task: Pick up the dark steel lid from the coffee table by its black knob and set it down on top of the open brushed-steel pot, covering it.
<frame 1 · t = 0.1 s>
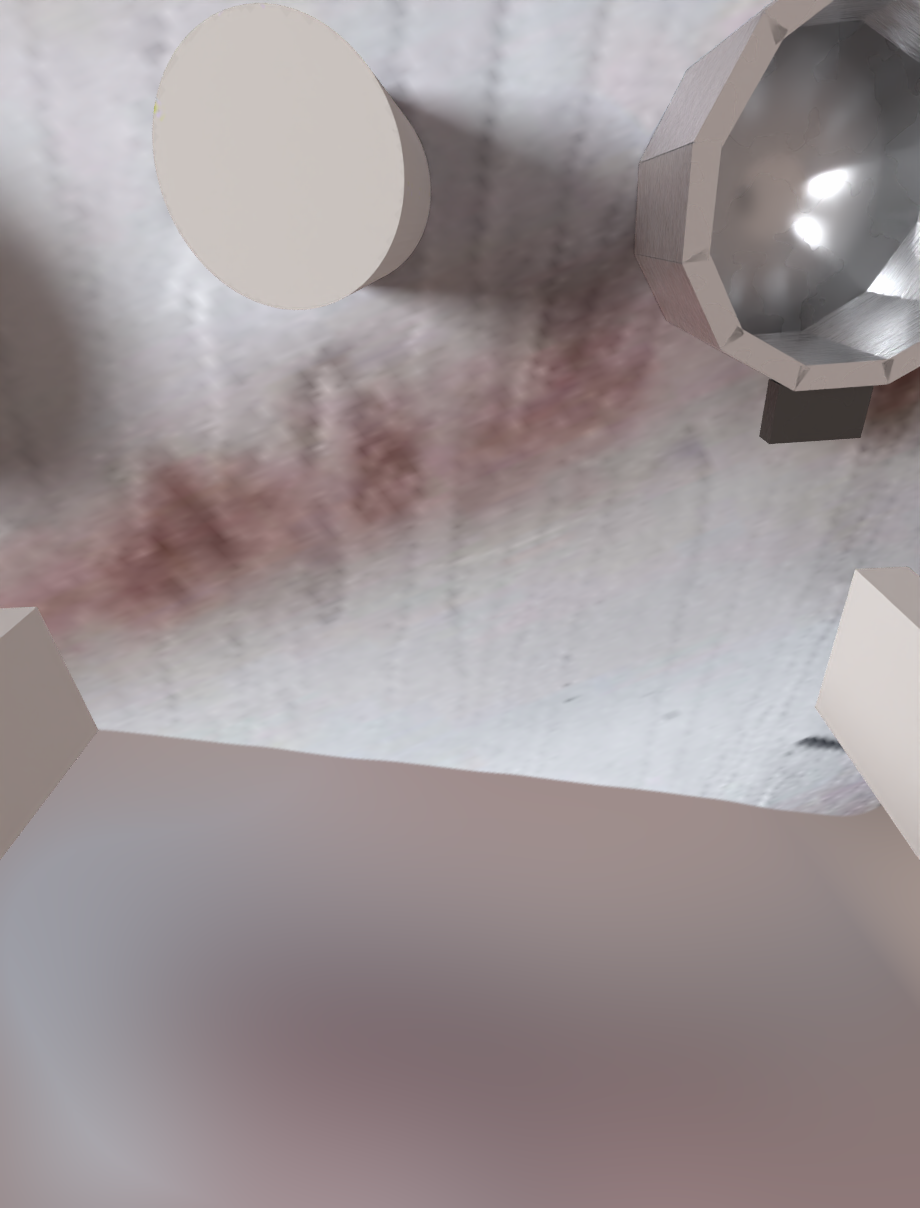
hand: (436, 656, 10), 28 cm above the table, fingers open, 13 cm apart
beige cylinder: (348, 189, 31), on the table
pot: (783, 195, 30), on the table
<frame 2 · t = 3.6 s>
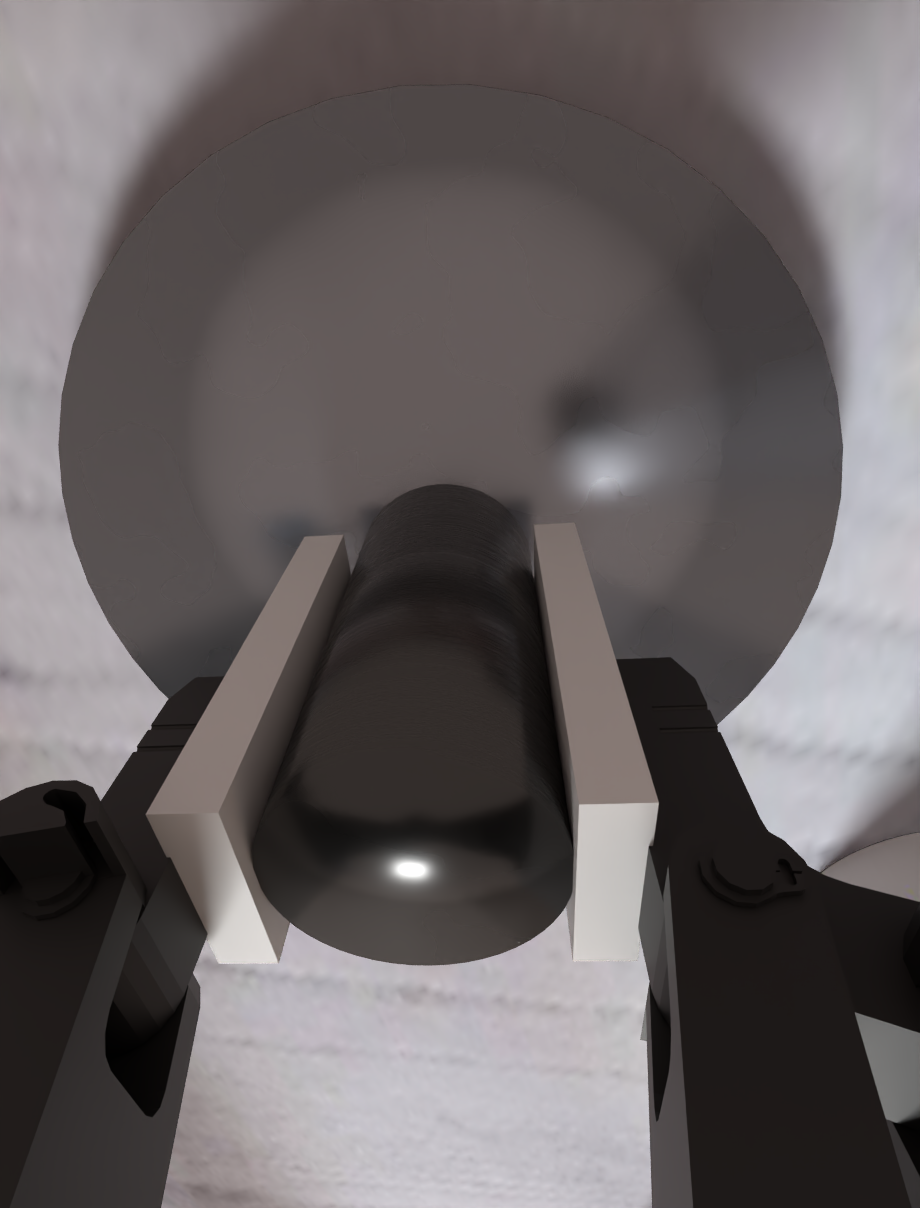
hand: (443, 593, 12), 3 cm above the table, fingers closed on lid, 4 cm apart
beige cylinder: (909, 902, 22), on the table
lid: (449, 534, 15), on the table, touching gripper
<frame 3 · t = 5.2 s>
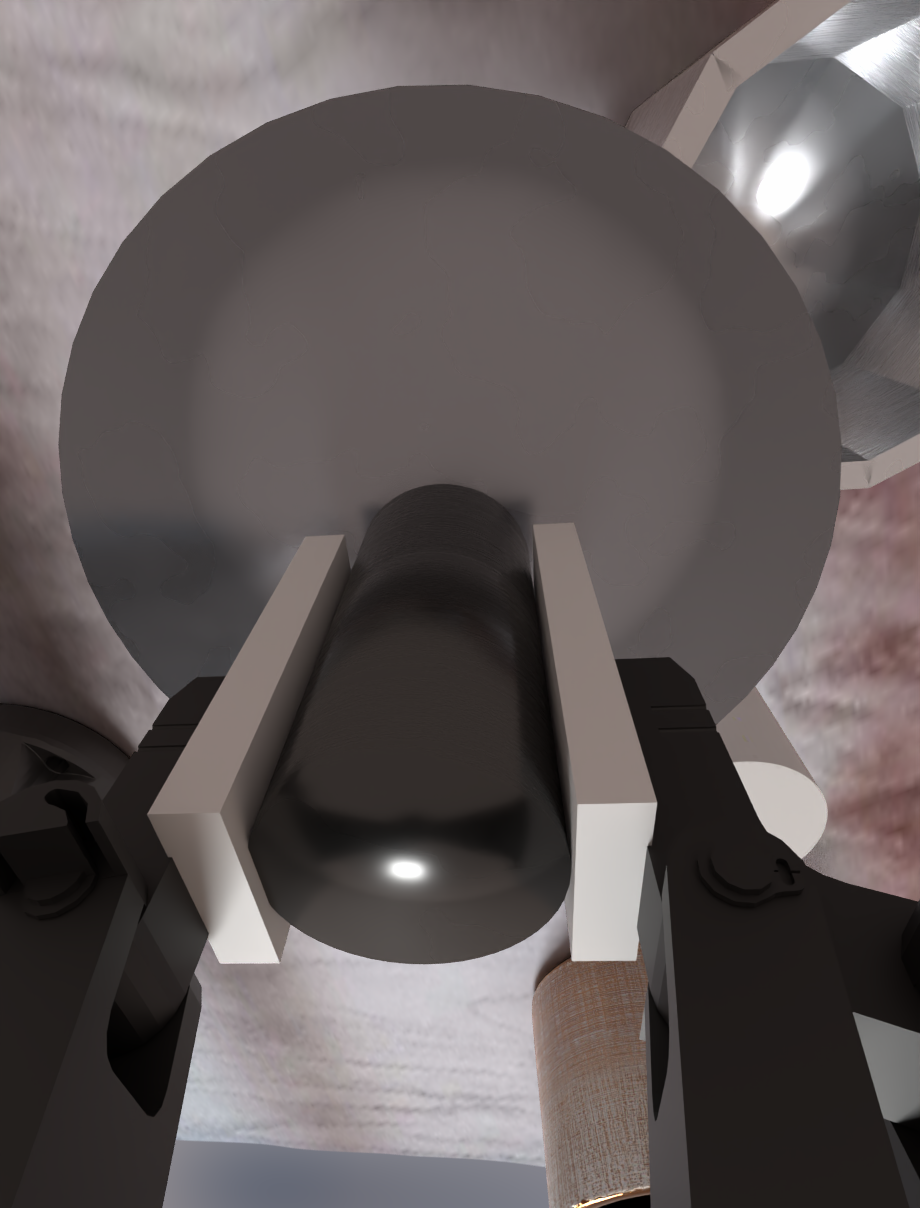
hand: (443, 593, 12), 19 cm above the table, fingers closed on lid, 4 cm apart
planter: (630, 988, 55), on the table
beige cylinder: (654, 661, 37), on the table
lid: (448, 534, 15), point 17 cm above the table, touching gripper
pot: (748, 254, 26), on the table
when the fingers open (14 cm above the table, at t = 6.8 s): lid drops 2 cm, resting on pot.
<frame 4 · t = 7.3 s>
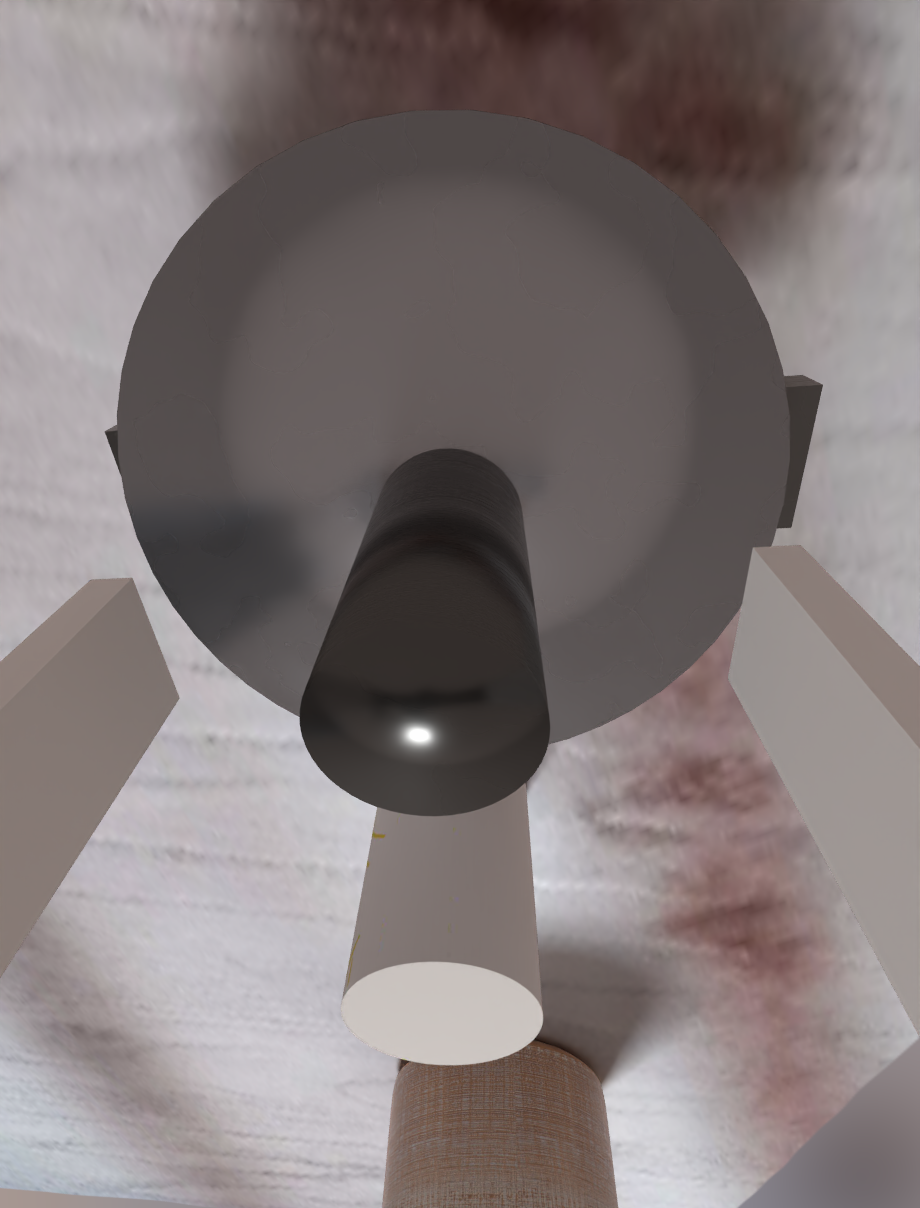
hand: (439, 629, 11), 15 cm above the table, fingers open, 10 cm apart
planter: (497, 1075, 54), on the table
beige cylinder: (454, 785, 36), on the table
lid: (452, 497, 17), point 9 cm above the table, touching pot
pot: (463, 410, 24), on the table
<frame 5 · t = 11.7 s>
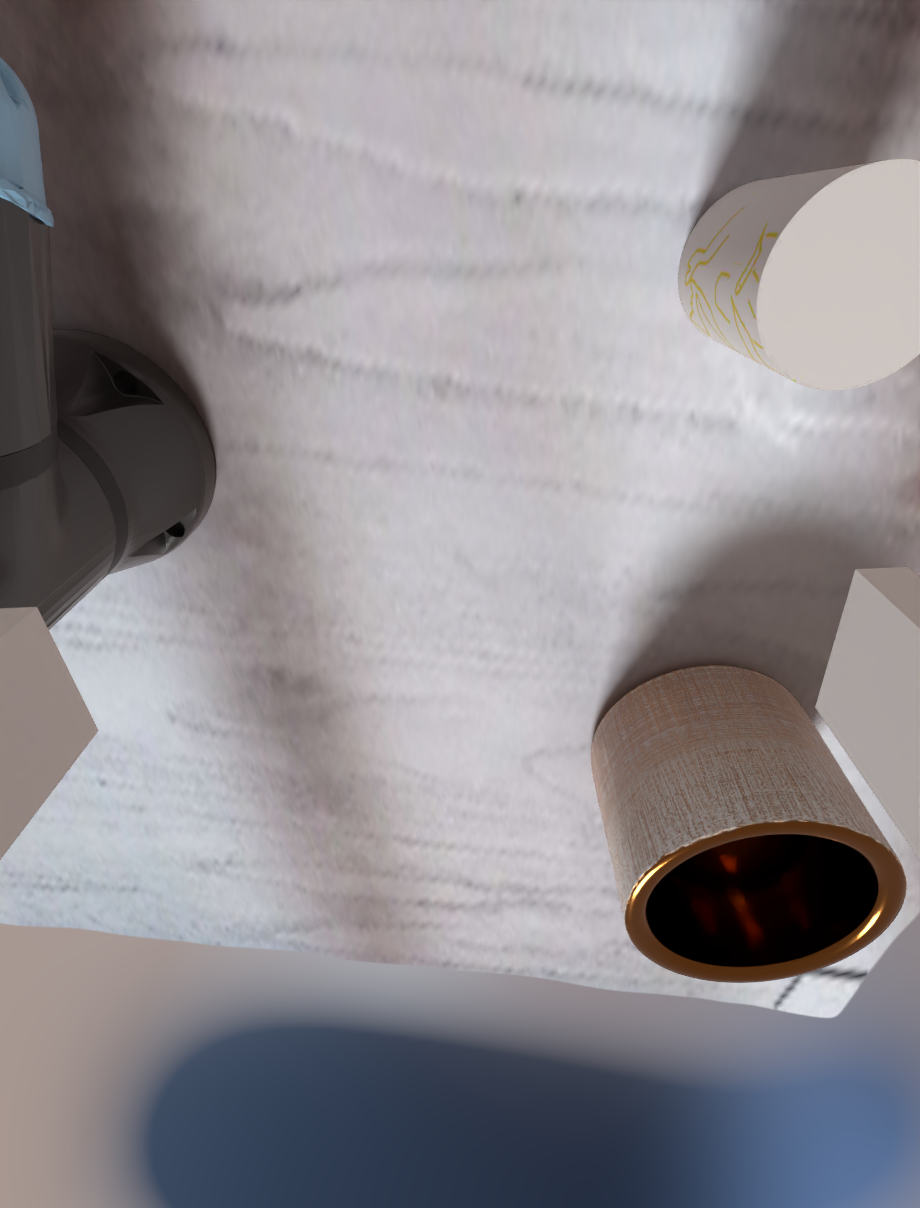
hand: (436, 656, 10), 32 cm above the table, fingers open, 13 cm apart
planter: (691, 738, 54), on the table
beige cylinder: (751, 266, 35), on the table
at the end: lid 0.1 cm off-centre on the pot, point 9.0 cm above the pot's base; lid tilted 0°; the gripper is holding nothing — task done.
